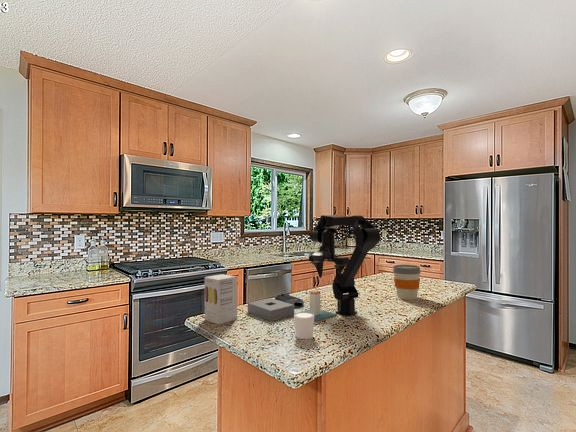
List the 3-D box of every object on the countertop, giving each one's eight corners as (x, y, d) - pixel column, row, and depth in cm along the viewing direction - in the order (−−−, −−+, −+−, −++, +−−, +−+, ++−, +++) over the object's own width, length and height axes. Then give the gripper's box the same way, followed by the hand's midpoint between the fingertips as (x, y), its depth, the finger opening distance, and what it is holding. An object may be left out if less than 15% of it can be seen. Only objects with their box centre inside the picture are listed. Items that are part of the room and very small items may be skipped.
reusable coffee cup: (423, 296, 156) (422, 265, 157) (418, 301, 146) (417, 269, 146) (397, 293, 163) (396, 264, 163) (390, 298, 152) (390, 267, 153)
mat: (336, 315, 127) (336, 314, 127) (315, 321, 120) (315, 320, 120) (315, 309, 136) (315, 308, 136) (294, 314, 129) (294, 313, 129)
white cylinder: (293, 332, 108) (292, 312, 108) (313, 332, 109) (312, 311, 109) (295, 340, 101) (294, 318, 101) (316, 339, 102) (316, 317, 102)
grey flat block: (294, 314, 129) (294, 304, 129) (270, 321, 121) (270, 310, 121) (270, 306, 141) (270, 297, 141) (247, 312, 133) (247, 302, 133)
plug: (320, 313, 128) (320, 291, 128) (315, 315, 126) (314, 292, 126) (315, 312, 130) (314, 290, 130) (310, 313, 128) (309, 291, 128)
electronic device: (273, 305, 149) (290, 308, 137) (273, 293, 150) (290, 295, 138) (289, 305, 154) (308, 307, 142) (289, 293, 155) (308, 295, 143)
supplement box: (203, 320, 124) (203, 276, 124) (222, 314, 131) (222, 273, 131) (218, 325, 118) (218, 279, 118) (238, 319, 124) (237, 276, 125)
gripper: (300, 243, 141) (300, 278, 141) (334, 245, 128) (334, 284, 127) (316, 242, 149) (316, 275, 149) (350, 244, 135) (350, 280, 135)
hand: (328, 278), depth 140 cm, fingers open, 9 cm apart
